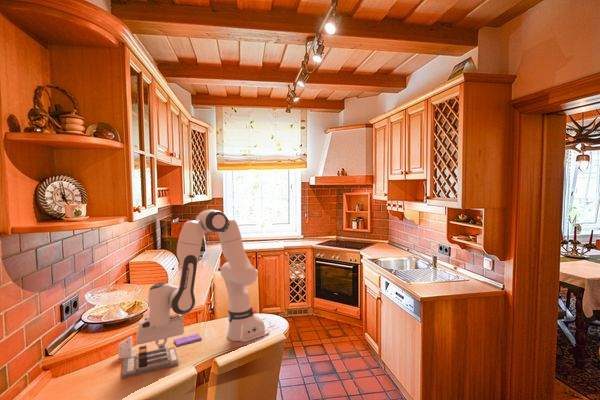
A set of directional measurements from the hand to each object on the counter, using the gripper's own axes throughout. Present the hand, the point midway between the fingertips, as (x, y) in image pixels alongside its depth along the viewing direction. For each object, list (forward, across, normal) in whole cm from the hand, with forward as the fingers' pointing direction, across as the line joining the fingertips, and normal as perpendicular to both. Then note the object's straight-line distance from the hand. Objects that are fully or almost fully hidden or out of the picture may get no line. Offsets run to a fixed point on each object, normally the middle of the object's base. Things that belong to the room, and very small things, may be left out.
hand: (161, 348), depth 149 cm
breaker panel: (+5, +5, +1) cm, 7 cm away
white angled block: (+5, +15, -12) cm, 19 cm away
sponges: (+6, -13, -14) cm, 20 cm away
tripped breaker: (+4, +8, +1) cm, 9 cm away
